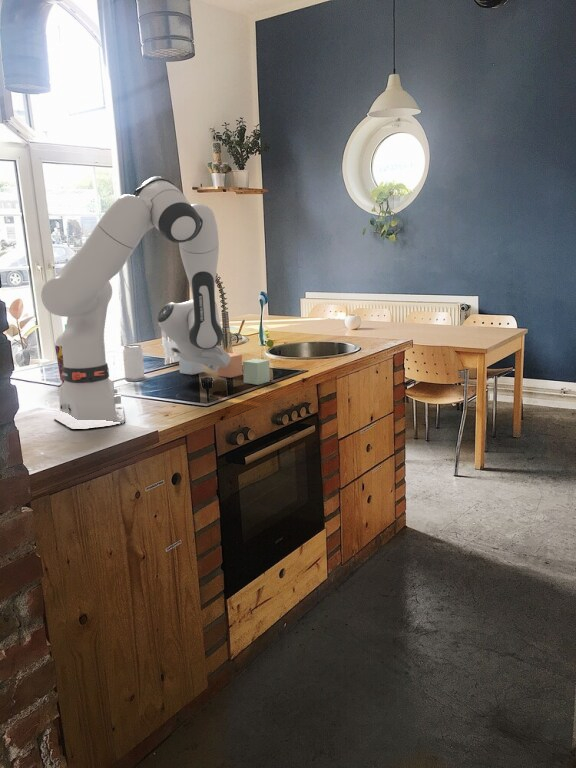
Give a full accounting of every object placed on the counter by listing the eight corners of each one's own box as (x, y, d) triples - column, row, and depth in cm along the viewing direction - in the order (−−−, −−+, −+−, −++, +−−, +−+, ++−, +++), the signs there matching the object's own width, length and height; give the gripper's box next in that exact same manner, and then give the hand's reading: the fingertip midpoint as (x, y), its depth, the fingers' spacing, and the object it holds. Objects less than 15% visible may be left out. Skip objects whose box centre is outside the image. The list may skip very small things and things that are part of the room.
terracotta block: (230, 377, 222) (229, 357, 221) (217, 375, 226) (216, 355, 224) (242, 374, 227) (241, 354, 225) (229, 372, 230) (228, 352, 229)
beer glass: (173, 366, 252) (170, 326, 249) (159, 364, 256) (157, 326, 252) (185, 363, 258) (183, 324, 254) (171, 361, 261) (169, 323, 258)
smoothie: (62, 386, 221) (56, 326, 217) (55, 382, 228) (49, 324, 223) (87, 383, 225) (81, 324, 221) (79, 379, 232) (74, 322, 228)
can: (139, 382, 224) (137, 347, 222) (122, 382, 225) (119, 347, 223) (147, 378, 230) (145, 344, 228) (130, 378, 232) (127, 344, 229)
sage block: (257, 384, 210) (257, 363, 209) (243, 382, 214) (242, 361, 213) (269, 381, 215) (269, 360, 214) (255, 379, 219) (255, 358, 217)
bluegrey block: (191, 374, 229) (190, 354, 227) (179, 372, 232) (178, 353, 231) (204, 371, 233) (203, 352, 232) (192, 370, 237) (191, 350, 235)
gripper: (221, 338, 206) (242, 364, 216) (175, 333, 219) (198, 357, 228) (211, 354, 204) (234, 379, 214) (166, 348, 216) (189, 372, 226)
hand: (215, 368), depth 221 cm, fingers closed
